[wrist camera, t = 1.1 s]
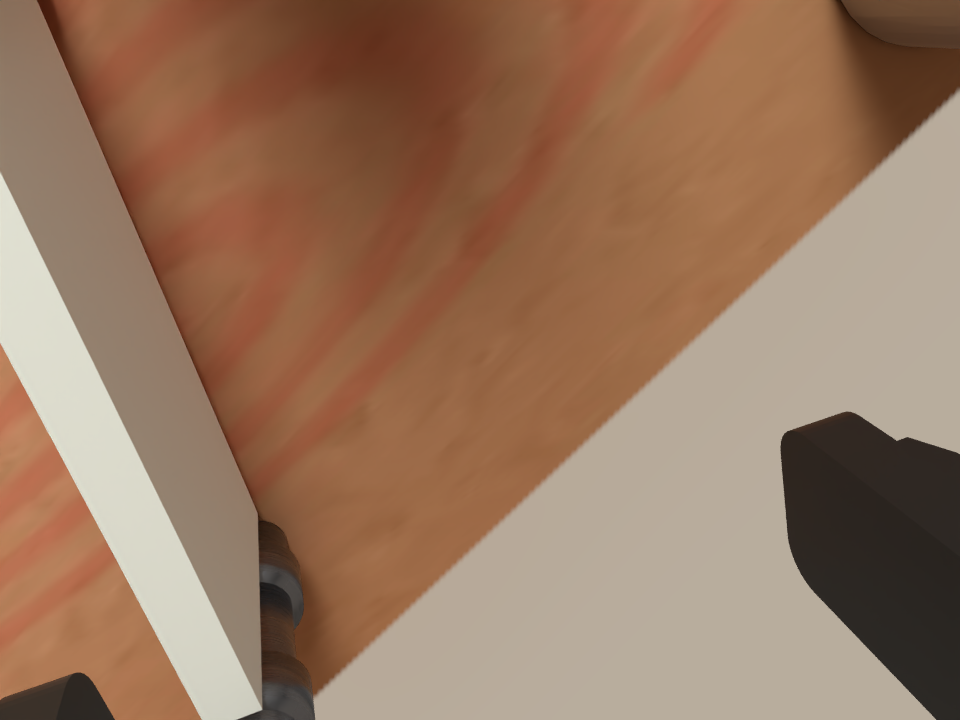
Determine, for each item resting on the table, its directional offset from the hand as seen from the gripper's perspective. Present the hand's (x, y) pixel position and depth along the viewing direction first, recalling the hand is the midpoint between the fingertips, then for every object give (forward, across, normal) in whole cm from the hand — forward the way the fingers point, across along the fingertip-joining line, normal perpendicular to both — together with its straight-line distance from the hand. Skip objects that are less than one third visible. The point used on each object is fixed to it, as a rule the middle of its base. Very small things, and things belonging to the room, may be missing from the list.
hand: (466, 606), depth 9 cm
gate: (+21, +7, 0) cm, 22 cm away
